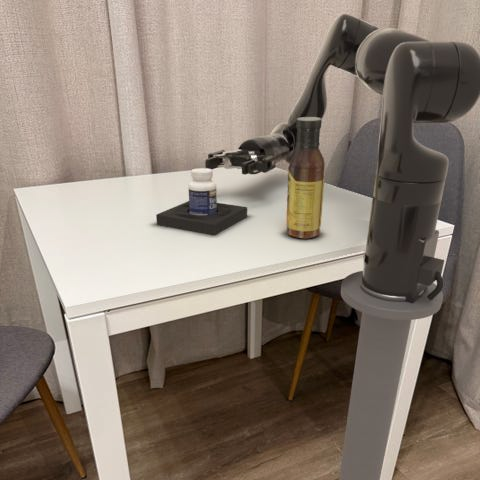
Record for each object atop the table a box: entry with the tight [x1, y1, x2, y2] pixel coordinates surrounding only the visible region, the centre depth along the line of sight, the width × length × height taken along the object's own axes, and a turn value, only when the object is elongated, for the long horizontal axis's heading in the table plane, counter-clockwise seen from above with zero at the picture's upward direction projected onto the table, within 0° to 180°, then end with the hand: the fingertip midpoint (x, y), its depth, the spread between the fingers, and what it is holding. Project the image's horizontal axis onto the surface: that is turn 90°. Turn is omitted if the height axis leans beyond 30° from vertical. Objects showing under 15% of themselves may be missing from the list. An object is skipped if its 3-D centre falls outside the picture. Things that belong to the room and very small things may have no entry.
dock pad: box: [155, 200, 248, 236], centre depth 95 cm, size 13×13×2 cm
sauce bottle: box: [285, 117, 326, 240], centre depth 83 cm, size 7×6×20 cm
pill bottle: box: [187, 167, 218, 215], centre depth 93 cm, size 5×5×10 cm
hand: (225, 167), depth 98 cm, fingers open, 8 cm apart
